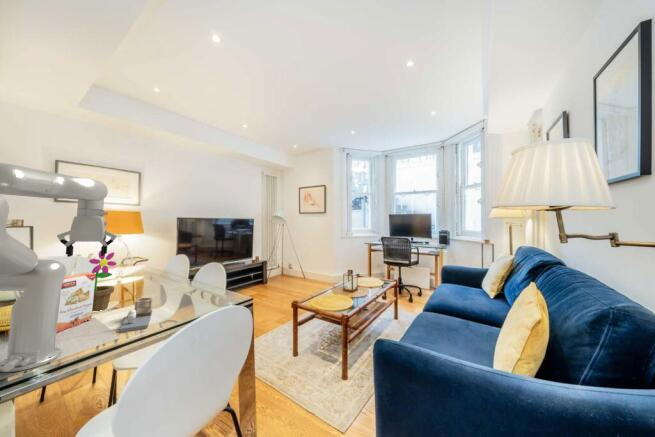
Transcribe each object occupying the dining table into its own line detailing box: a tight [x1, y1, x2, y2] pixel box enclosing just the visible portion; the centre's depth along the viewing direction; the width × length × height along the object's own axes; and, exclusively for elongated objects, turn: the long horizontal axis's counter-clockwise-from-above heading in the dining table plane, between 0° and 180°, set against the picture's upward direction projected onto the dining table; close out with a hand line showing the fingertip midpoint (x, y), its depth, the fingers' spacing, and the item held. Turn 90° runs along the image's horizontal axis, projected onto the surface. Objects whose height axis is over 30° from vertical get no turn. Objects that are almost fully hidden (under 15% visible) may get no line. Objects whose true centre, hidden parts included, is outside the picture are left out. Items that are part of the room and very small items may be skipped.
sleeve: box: [134, 296, 153, 317], centre depth 112 cm, size 6×6×7 cm
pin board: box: [119, 309, 153, 334], centre depth 107 cm, size 20×9×7 cm, turn 32°
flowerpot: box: [88, 250, 118, 312], centre depth 119 cm, size 14×14×30 cm
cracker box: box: [56, 272, 96, 334], centre depth 101 cm, size 14×6×21 cm, turn 179°
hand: (86, 255), depth 96 cm, fingers open, 9 cm apart
